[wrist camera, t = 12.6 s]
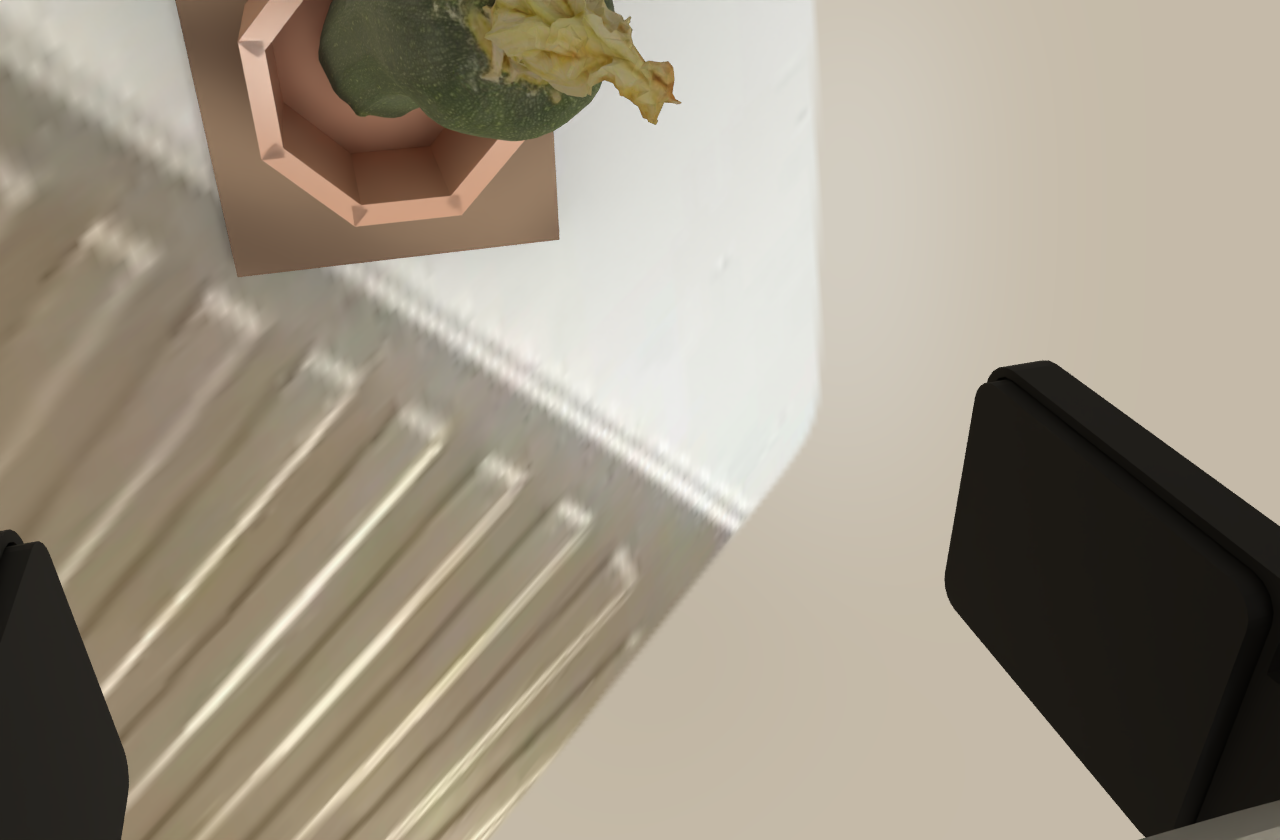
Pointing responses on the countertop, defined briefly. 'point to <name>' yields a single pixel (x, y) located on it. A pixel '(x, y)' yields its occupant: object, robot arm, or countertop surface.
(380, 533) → the countertop surface
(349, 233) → the stand
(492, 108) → the vegetable
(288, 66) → the cup
